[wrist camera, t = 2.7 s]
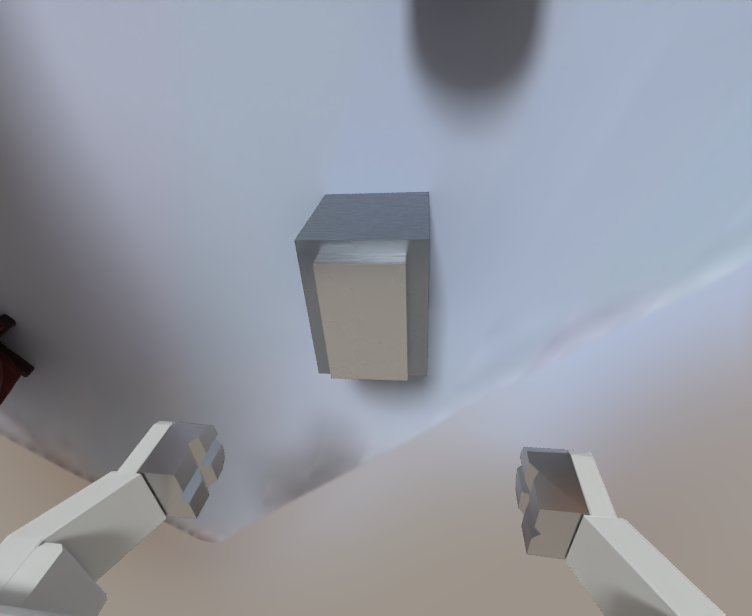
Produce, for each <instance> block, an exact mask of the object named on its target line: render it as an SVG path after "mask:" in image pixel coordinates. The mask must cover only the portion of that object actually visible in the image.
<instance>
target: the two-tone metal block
mask: <svg viewBox="0 0 752 616" xmlns="http://www.w3.org/2000/svg"><path fill="white" fill-rule="evenodd" d="M429 240H430V237H429V192H406V193H366V194H327V195H325V196H324V197H323V199H322V200H321V202H320V203H319V205H318V206H317V208H316V209H315V211H314V212H313V214H312V215H311V217H310V218H309V220H308V221H307V223H306V224H305V226H304V227H303V229H302V230H301V231H300V233H299V234H298V236H297V237H296V239H295V246H296V251H297V257H298V262H299V267H300V273H301V278H302V284H303V289H304V295H305V300H306V306H307V311H308V316H309V322H310V327H311V333H312V338H313V344H314V349H315V354H316V360H317V365H318V371H319V373H328V374H331V378H338V379H370V380H401V381H408V376H427V357H428V299H429Z"/></svg>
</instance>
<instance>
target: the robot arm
mask: <svg viewBox="0 0 752 616" xmlns="http://www.w3.org/2000/svg"><path fill="white" fill-rule="evenodd" d="M216 436H217V432H216V429H215V427H214V426H213V425H203V424H193V423H183V422H173V421H158V422H157V423H155V424H154V425H153V426H152V427H151V428H150V430H149V431H148V432H147V434H146V435H145V436H144V437H143V439H142V440H141V441H140V443H139V444H138V445H137V446H136V448H135V449H134V450H133V452H132V453H131V454H130V455H129V457H128V458H127V459H126V461H125V462H124V463H123V464H122V466H121V467H120V468H119V469H118V471H111V472H110V473H108V474H106V475H105V476H103V477H102V478H100V479H98V480H97V481H95V482H93V483H92V484H90V485H89V486H87V487H85V488H84V489H82V490H81V491H79V492H77V493H76V494H74V495H73V496H71V497H69V498H68V499H66V500H65V501H63V502H61V503H60V504H58V505H57V506H55V507H53V508H52V509H50V510H49V511H47V512H45V513H44V514H42V515H40V516H39V517H37V518H36V519H34V520H32V521H31V522H29V523H27V524H26V525H24V526H23V527H21V528H20V529H18V530H16V531H15V532H13V533H11V534H10V535H8V536H7V537H6V538H5V540H4V541H3V542H2V543H1V544H0V616H98V614H99V612H100V611H101V609H102V607H103V606H104V604H105V602H106V601H107V596H106V593H105V592H104V591H103V590H102V588H101V587H100V586H99V585H98V584H97V583H96V581H97V580H98V579H99V578H100V577H102V576H103V575H104V574H105V573H106V572H107V571H108V570H109V569H110V568H111V567H113V566H114V565H115V564H116V563H117V562H118V561H119V560H121V559H122V558H123V557H124V556H125V555H126V554H127V553H128V552H129V551H131V550H132V549H133V548H134V547H135V546H136V545H137V544H138V543H140V542H141V541H142V540H143V539H144V538H145V537H146V536H147V535H148V534H149V533H151V532H152V531H153V530H154V529H155V528H156V527H157V526H158V525H159V524H161V523H162V522H163V521H164V520H165V519H166V518H167V517H166V516H170V517H183V518H196V519H197V517H198V515H199V513H200V511H201V509H202V508H203V506H204V504H205V502H206V500H207V498H208V496H209V491H208V486H209V485H211V484H212V483H213V482H215V481H216V480H217V479H218V477H219V475H220V473H221V471H222V468H223V463H224V459H225V458H224V449H223V447H222V444H220V443H219V442H218V441H217V440H215V437H216ZM520 459H521V464H522V465H521V466H520V467H518V469H517V474H516V495H517V501H518V508H519V509H520V510H521V511H522V512H523V513H524V518H523V522H522V530H523V536H524V541H525V546H526V552H527V554H529V555H536V556H544V557H551V558H559V559H566V560H565V562H566V563H567V565H568V566H569V568H570V569H571V570H572V572H573V573H574V574H575V576H576V577H577V578H578V580H579V581H580V583H581V584H582V585H583V587H584V588H585V589H586V591H587V592H588V594H589V595H590V596H591V598H592V599H593V600H594V602H595V603H596V605H597V606H598V607H599V608H600V610H601V611H602V613H603V614H604V616H726V615H725V614H724V613H723V612H722V611H721V610H720V609H719V608H718V607H717V606H716V605H715V604H713V602H712V601H711V600H709V599H708V598H707V597H706V596H705V595H704V594H703V593H702V592H701V591H700V590H699V589H698V588H697V587H696V586H695V585H694V584H693V583H692V582H691V581H689V580H688V579H687V578H686V577H685V576H684V575H683V574H682V573H681V572H680V571H679V570H678V569H677V568H676V567H675V566H674V565H673V564H672V563H671V562H669V561H668V560H667V559H666V558H665V557H664V556H663V555H662V554H661V553H660V552H659V551H658V550H657V549H656V548H654V546H653V545H652V544H650V543H649V542H648V541H647V540H646V539H645V538H644V537H643V536H642V535H641V534H640V533H639V532H638V531H637V530H636V529H635V528H634V527H633V526H631V524H630V523H628V522H627V521H626V520H625V519H623V518H617V516H616V513H615V511H614V508H613V506H612V503H611V500H610V498H609V495H608V493H607V490H606V488H605V486H604V483H603V480H602V478H601V475H600V473H599V470H598V467H597V465H596V462H595V460H594V457H593V455H592V454H591V453H590V452H588V451H574V450H564V449H550V448H532V447H523V449H522V451H521V455H520Z"/></svg>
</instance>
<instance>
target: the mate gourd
mask: <svg viewBox="0 0 752 616" xmlns="http://www.w3.org/2000/svg"><path fill="white" fill-rule="evenodd" d="M15 324H16V322H15V321H14V320H13V319H12V318H11V317H9V316H8V315H6V314H4V315H2V316H1V317H0V337H1V336H2V335H3V334H5V333H6V332H7V331H8V330H9V329H11V328H12V327H13V326H14V325H15ZM33 370H34V367H33V366H32V365H30V364H29V363H28V362H26V361H25V360H24V359H22V358H21V357H19V356H18V355H17V354H15V353H14V352H13V351H11V350H10V349H8V348H7V347H6V346H5V345H3V344H2V343H1V342H0V405H1V404H2V402H3V401H4V399H5V398H6V397H7V395H8V394H9V393H10V391H11V389H12V388H13V386H14V385H15V383H16V382H17V380H18V379H19V378H20V376H21V375H22V376H23V377H27V376H28V375H30V373H31V372H32V371H33Z"/></svg>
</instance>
